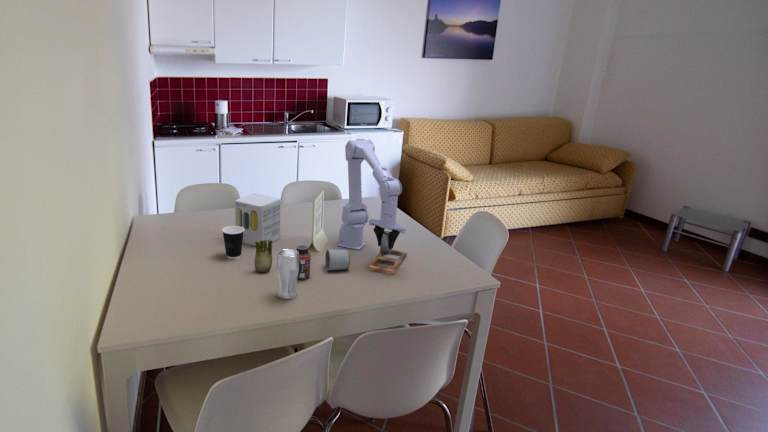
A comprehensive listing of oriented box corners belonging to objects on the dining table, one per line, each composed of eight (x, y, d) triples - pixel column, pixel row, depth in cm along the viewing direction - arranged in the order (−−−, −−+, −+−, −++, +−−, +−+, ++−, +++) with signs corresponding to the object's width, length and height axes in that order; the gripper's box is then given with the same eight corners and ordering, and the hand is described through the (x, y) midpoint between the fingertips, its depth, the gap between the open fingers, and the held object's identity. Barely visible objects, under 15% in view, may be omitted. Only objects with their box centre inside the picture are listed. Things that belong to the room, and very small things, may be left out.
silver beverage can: (278, 289, 164) (278, 247, 159) (299, 290, 165) (300, 248, 160) (275, 299, 157) (275, 256, 152) (297, 300, 158) (298, 257, 153)
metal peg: (377, 253, 184) (379, 233, 182) (382, 249, 188) (384, 230, 185) (387, 255, 183) (389, 235, 180) (392, 252, 186) (394, 232, 184)
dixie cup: (243, 251, 190) (243, 225, 187) (245, 260, 183) (245, 232, 180) (222, 253, 188) (221, 226, 184) (223, 261, 181) (222, 233, 177)
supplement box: (234, 241, 200) (233, 200, 194) (254, 231, 211) (254, 192, 206) (262, 248, 195) (262, 206, 190) (280, 238, 207) (281, 198, 201)
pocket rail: (367, 269, 184) (367, 266, 183) (383, 251, 202) (383, 247, 202) (392, 275, 181) (393, 271, 181) (406, 255, 199) (407, 252, 199)
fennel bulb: (272, 268, 178) (272, 238, 175) (270, 274, 174) (270, 243, 170) (256, 267, 178) (256, 236, 174) (253, 273, 173) (253, 242, 170)
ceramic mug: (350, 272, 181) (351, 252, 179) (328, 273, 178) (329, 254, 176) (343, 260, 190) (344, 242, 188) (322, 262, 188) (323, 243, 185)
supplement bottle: (306, 281, 171) (307, 251, 167) (290, 279, 172) (290, 249, 168) (312, 274, 176) (313, 245, 173) (296, 272, 177) (297, 242, 174)
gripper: (411, 213, 181) (407, 248, 185) (376, 205, 186) (373, 239, 191) (403, 218, 174) (399, 254, 179) (367, 210, 180) (364, 244, 185)
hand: (385, 246), depth 184 cm, fingers closed on metal peg, 4 cm apart
